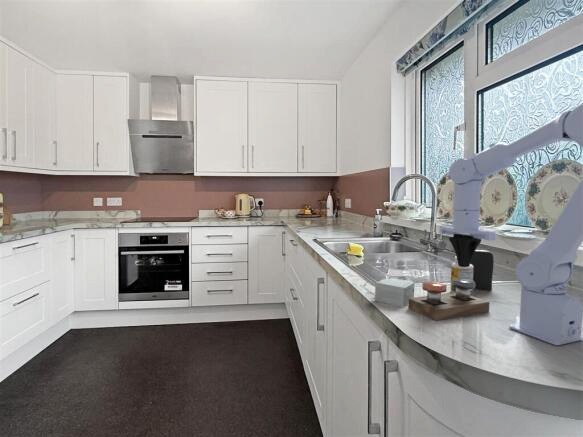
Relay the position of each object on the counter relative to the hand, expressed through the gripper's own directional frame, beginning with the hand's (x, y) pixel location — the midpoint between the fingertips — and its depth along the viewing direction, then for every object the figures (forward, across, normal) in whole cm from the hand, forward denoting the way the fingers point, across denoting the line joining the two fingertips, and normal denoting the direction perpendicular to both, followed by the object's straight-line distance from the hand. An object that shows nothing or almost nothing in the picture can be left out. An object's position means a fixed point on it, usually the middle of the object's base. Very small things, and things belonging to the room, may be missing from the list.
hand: (463, 266), depth 84 cm
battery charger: (+11, +12, -20) cm, 25 cm away
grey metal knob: (+8, 0, 0) cm, 8 cm away
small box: (+11, +11, +12) cm, 19 cm away
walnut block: (+10, 0, +4) cm, 11 cm away
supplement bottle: (+11, +10, -10) cm, 18 cm away
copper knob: (+8, 0, +9) cm, 12 cm away
